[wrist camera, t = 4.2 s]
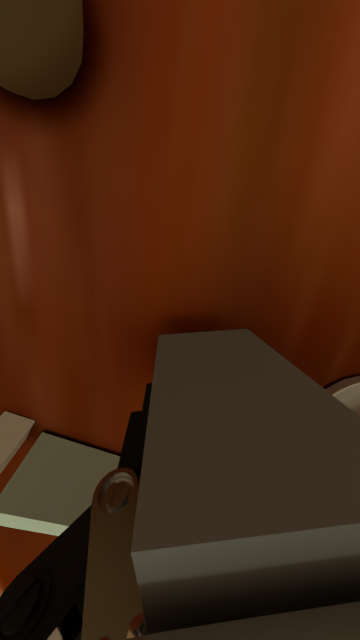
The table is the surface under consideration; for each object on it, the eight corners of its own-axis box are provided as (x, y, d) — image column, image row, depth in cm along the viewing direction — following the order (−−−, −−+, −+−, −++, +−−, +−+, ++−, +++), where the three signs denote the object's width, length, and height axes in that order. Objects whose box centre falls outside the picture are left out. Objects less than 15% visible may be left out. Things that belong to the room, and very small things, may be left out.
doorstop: (247, 328, 10) (476, 508, 3) (241, 426, 12) (363, 690, 5) (158, 334, 10) (130, 553, 2) (167, 434, 12) (167, 724, 4)
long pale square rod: (209, 483, 21) (225, 555, 16) (198, 496, 22) (210, 570, 17) (42, 431, 16) (-11, 510, 11) (33, 448, 17) (-22, 532, 12)
